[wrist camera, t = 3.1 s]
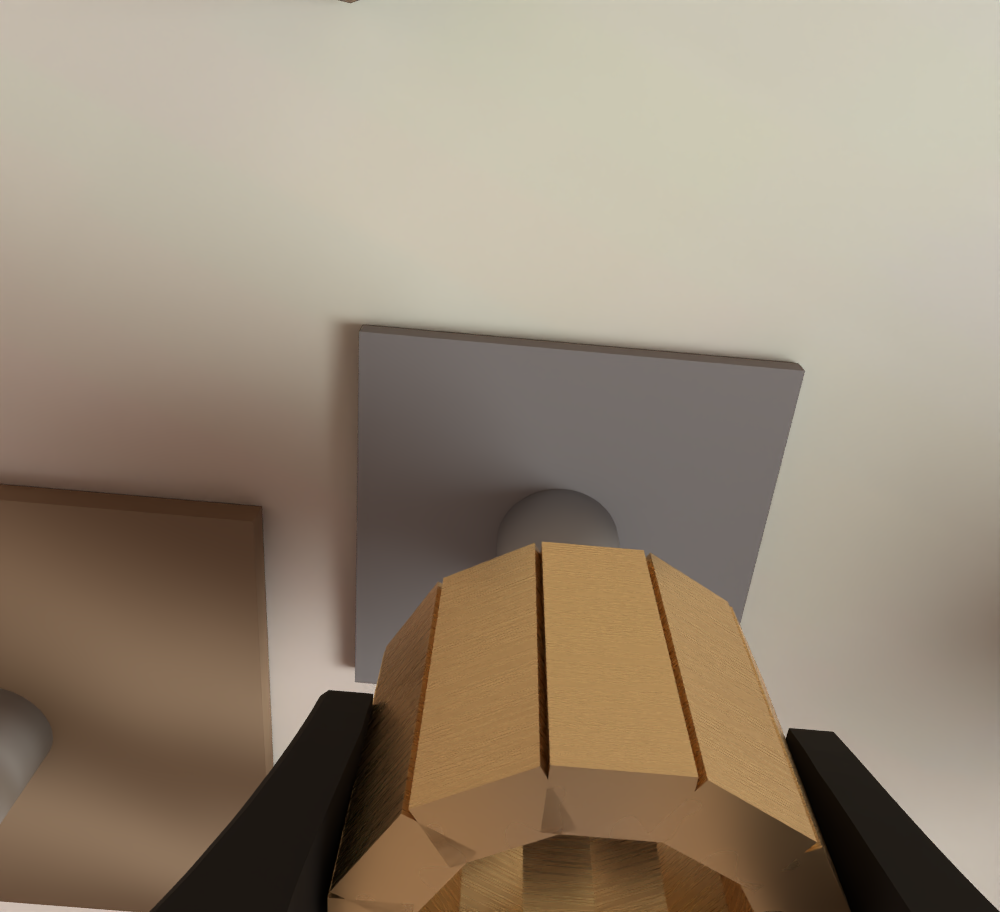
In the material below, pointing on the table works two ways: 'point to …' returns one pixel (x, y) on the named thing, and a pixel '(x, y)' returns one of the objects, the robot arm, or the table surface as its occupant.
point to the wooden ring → (577, 752)
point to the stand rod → (555, 461)
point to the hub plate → (125, 690)
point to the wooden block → (349, 1)
